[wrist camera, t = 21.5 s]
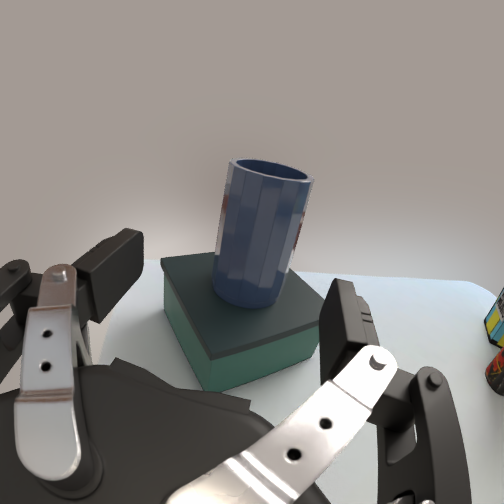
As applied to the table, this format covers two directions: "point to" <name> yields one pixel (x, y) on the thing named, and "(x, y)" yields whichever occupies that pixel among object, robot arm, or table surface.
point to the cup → (258, 230)
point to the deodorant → (496, 373)
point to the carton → (496, 322)
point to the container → (237, 325)
